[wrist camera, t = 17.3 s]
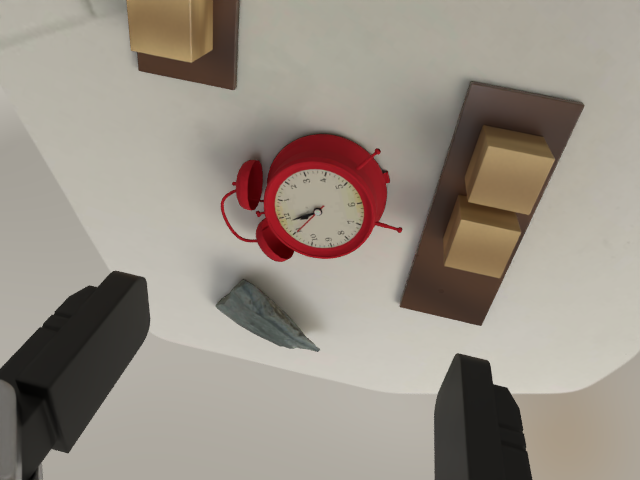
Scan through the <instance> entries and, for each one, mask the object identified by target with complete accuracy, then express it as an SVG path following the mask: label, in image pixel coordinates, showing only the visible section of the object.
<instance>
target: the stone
mask: <svg viewBox="0 0 640 480" xmlns="http://www.w3.org/2000/svg"><path fill="white" fill-rule="evenodd" d="M216 308H217V309H219V310H220V311H221V312H222V313H224V314H225V315H227V316H228V317H229V318H230V319H232V320H233V321H234V322H236V323H237V324H238V325H240V326H242V327H243V328H245V329H247V330H249V331H250V332H252V333H254V334H256V335H258V336H260V337H262V338H264V339H266V340H268V341H271V342H273V343H275V344H276V345H278V346H284V347H287V348H291V349H294V348H302V349H309V350H312V351H317V352H318V351H320V349H319V348H318V347H316V345H315V344H314V343H313V342H312V341H310V340H309V339H308V338H307V337H306V336H305V335H304V334H303V332H302V331H301V330H300V329H299V328H298V327H297V325H296V324H295V323H294V322H293V321H292V320H291V319H290V317H289V316H288V315H287V314H286V313H285V312H284V311H282V310H281V309H280V308H279V307H278V306H277V305H276V304H275V303H274V302H273V301H271V300H270V299H269V298H268V297H267V296H266V295H265V294H264V293H263V292H262V291H261V290H259V289H258V288H256V287H255V286H254V285H253V284H251V283H249V282H247V281H245V280H244V279H243V280H242V281H241V282H240V283H239V284H238V285H237V286H236V287H234V289H233V290H232V291H231V293H230V294H229V295H227V296H226V297H224V298H223V299H221V301H220V302H219V303H218V304H217V305H216Z"/></svg>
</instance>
